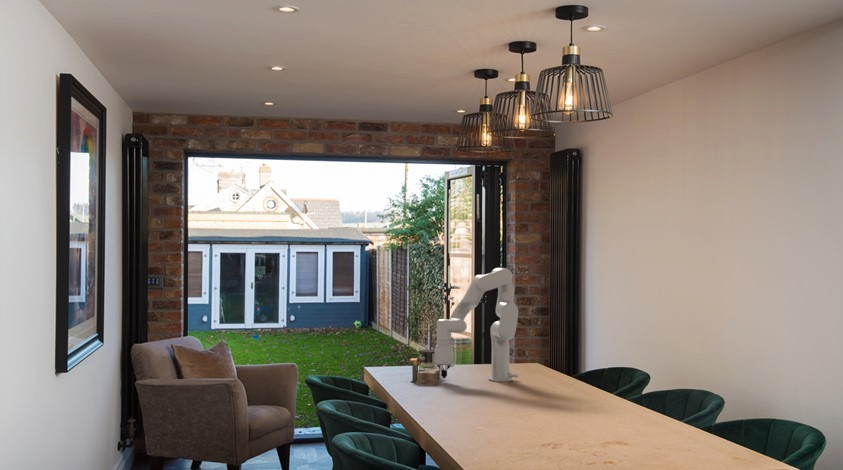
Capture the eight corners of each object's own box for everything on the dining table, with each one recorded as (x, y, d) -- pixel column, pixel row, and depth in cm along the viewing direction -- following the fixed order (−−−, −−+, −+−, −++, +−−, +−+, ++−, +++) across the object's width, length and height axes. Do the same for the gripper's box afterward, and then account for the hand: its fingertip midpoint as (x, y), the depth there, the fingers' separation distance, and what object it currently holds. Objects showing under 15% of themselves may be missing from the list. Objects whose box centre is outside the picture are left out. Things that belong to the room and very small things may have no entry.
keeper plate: (417, 369, 421) (417, 358, 421) (416, 371, 416) (416, 359, 416) (411, 369, 421) (411, 358, 422) (410, 371, 417) (410, 359, 417)
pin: (440, 379, 419) (440, 372, 419) (439, 380, 415) (439, 373, 415) (418, 379, 420) (418, 371, 420) (417, 380, 416) (417, 372, 416)
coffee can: (423, 378, 430) (423, 352, 430) (415, 375, 439) (416, 349, 439) (440, 376, 434) (440, 351, 434) (432, 374, 444) (432, 349, 444)
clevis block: (440, 379, 426) (440, 362, 426) (436, 384, 408) (436, 367, 408) (414, 378, 428) (415, 361, 428) (409, 384, 410) (409, 366, 410)
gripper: (458, 342, 419) (458, 376, 419) (430, 341, 421) (430, 376, 421) (457, 343, 412) (457, 379, 411) (429, 343, 414) (429, 378, 414)
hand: (444, 377), depth 416 cm, fingers closed
